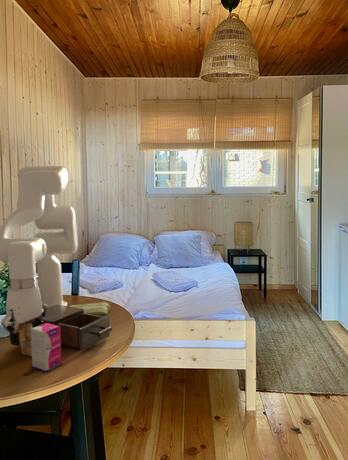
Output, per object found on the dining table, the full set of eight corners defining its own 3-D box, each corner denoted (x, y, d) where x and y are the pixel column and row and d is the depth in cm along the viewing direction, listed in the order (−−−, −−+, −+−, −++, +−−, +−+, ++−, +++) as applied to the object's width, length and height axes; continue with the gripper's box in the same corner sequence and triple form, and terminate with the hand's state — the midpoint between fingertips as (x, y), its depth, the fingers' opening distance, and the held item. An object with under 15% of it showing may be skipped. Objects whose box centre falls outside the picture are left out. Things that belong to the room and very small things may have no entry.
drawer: (119, 337, 136) (118, 317, 135) (93, 352, 124) (92, 331, 123) (82, 330, 143) (81, 311, 142) (54, 344, 132) (53, 323, 131)
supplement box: (46, 372, 114) (44, 332, 112) (32, 368, 117) (29, 328, 116) (62, 364, 119) (60, 325, 117) (48, 360, 122) (45, 322, 120)
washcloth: (65, 311, 168) (65, 303, 168) (110, 308, 169) (109, 301, 169) (59, 321, 155) (59, 313, 155) (107, 319, 156) (107, 311, 156)
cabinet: (85, 332, 143) (84, 308, 142) (54, 347, 131) (53, 321, 130) (58, 327, 149) (56, 304, 148) (26, 341, 137) (24, 316, 136)
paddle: (20, 354, 127) (18, 323, 125) (27, 351, 129) (25, 320, 128) (32, 357, 124) (30, 325, 123) (39, 354, 126) (37, 323, 125)
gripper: (36, 275, 134) (39, 328, 136) (-11, 288, 119) (-6, 347, 121) (54, 277, 130) (57, 331, 132) (8, 291, 115) (12, 352, 117)
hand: (27, 339), depth 127 cm, fingers open, 8 cm apart
